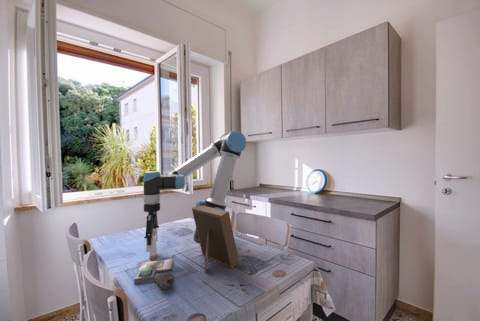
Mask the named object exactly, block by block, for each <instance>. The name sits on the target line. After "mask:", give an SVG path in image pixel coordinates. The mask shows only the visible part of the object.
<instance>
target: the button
mask: <svg viewBox="0 0 480 321" xmlns="http://www.w3.org/2000/svg"><path fill="white" fill-rule="evenodd" d="M143 276H151V268H150V267H145V268H142V269H141V270H140V277H143Z"/></svg>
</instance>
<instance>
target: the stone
mask: <svg viewBox="0 0 480 321" xmlns="http://www.w3.org/2000/svg"><path fill="white" fill-rule="evenodd" d="M175 281H176V279H175V275H174V274H173V273H172V272H166V273H165V272H163V273H161V272H157V273H156V275H155V277H154V282H156V284H157V285H159V286H160V288H161V289H163V290H168V289H171V288H172V287H173V286H174V284H175Z"/></svg>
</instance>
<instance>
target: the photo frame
mask: <svg viewBox="0 0 480 321" xmlns="http://www.w3.org/2000/svg"><path fill="white" fill-rule="evenodd" d="M191 212H192V215H193V219H194V224H195V229H197V233H198V237H199V242H198V243H199V245H200V249H201V254H202V255H203V256H205V258H204V274H207V271H208V270H207V268H208V260H209V259H212V260H213V261H215V262H217V263H220V264H222V265H223V266H226V267H228V268H230V269H234V268H235V267H237V266H238V264H240V261H239V260H240V259H239V255H238V250H237V246H236V240H235V236H234V231H233V227H232V222H231V221H232V220H231V217H230V215H231V214H230V212H229V211H228V210H225V211H224V210H220V209H215V208H211V207H206V206H202V205H198V206H196V205H195V206H194V207H193V206H192V208H191Z"/></svg>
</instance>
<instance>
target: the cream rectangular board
mask: <svg viewBox="0 0 480 321" xmlns="http://www.w3.org/2000/svg"><path fill="white" fill-rule="evenodd" d="M173 264H174V259H173V258H170V259H169V258H168V259H163V260H153V261H144V262H141V263H140V265H139V267H138V270H141V269H142V268H145V267H150V268H151V269H154V268H156V272H157V273H161V272H163V273H165V272H169V271H170V272H171V271H172V270H173ZM138 270H137V271H136V274H137V272H138Z"/></svg>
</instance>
